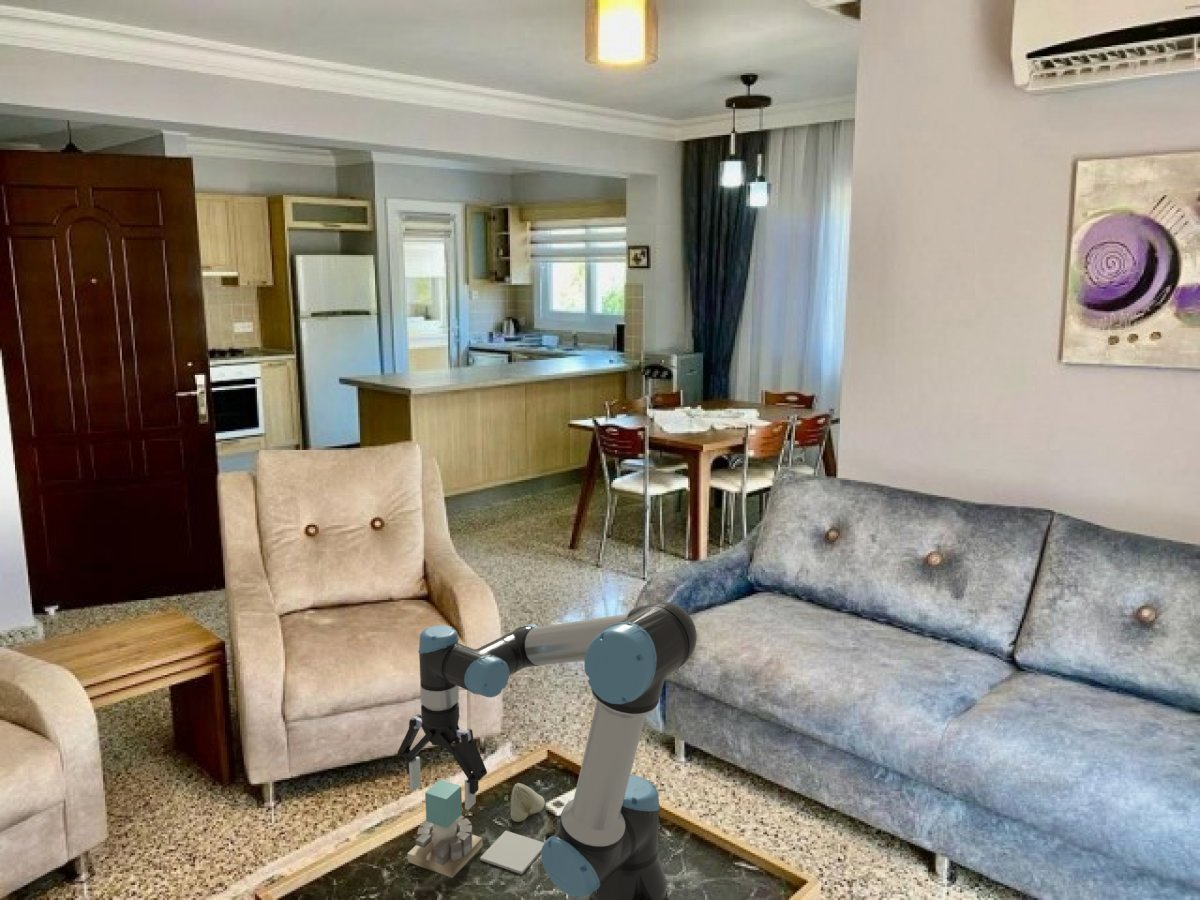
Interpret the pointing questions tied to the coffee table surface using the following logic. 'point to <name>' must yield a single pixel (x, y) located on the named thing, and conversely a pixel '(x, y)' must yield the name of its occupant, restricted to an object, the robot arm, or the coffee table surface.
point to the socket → (445, 848)
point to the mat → (513, 852)
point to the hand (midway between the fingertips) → (442, 797)
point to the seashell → (525, 802)
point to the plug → (443, 809)
